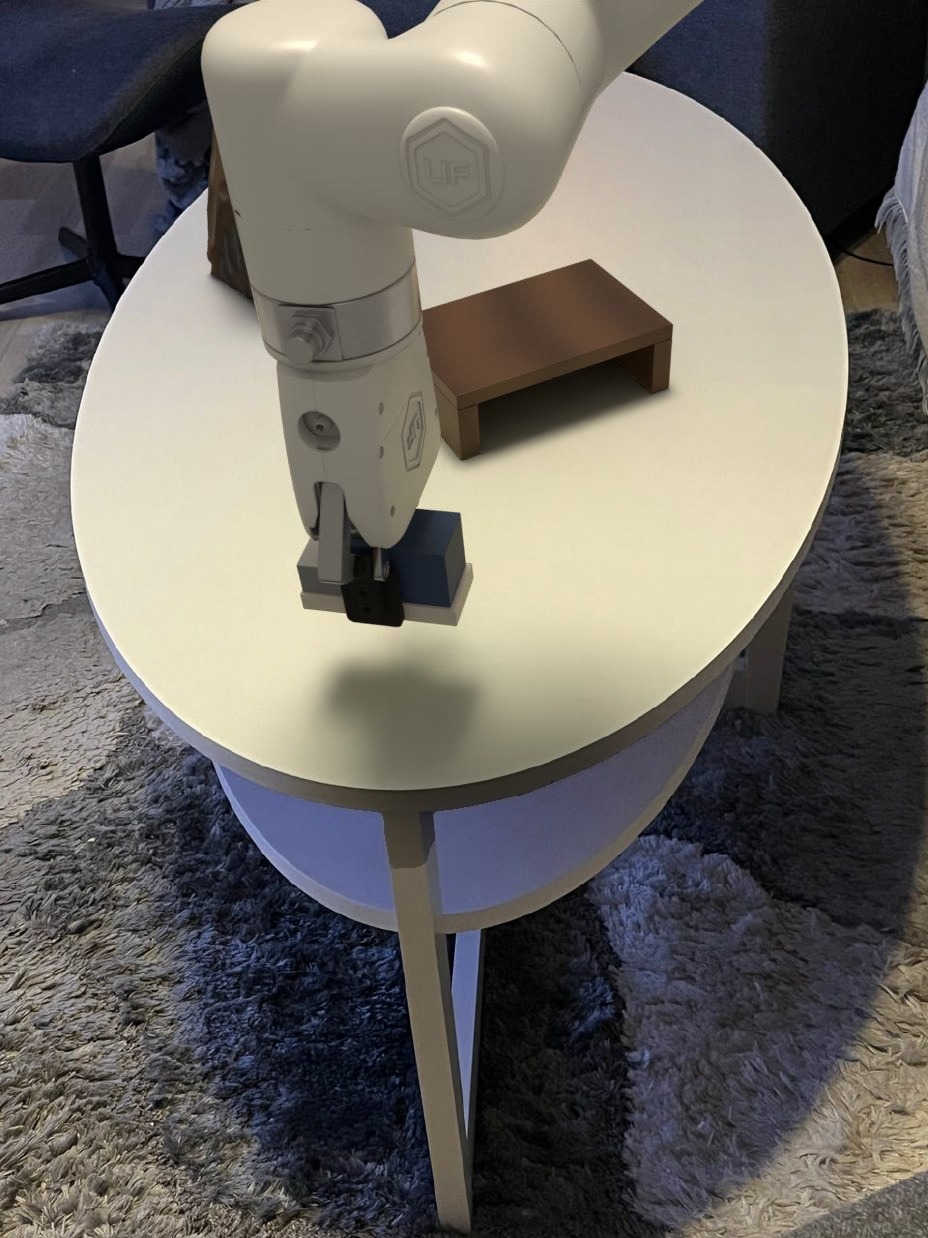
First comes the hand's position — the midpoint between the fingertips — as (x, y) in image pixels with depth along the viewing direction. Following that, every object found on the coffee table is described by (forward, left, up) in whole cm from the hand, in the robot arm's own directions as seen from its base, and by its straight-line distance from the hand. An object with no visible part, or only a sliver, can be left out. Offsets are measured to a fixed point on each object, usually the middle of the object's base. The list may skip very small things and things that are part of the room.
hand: (388, 589), depth 66 cm
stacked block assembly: (0, 0, 0) cm, 0 cm away
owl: (-11, -51, -7) cm, 53 cm away
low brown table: (-22, -23, -7) cm, 33 cm away
